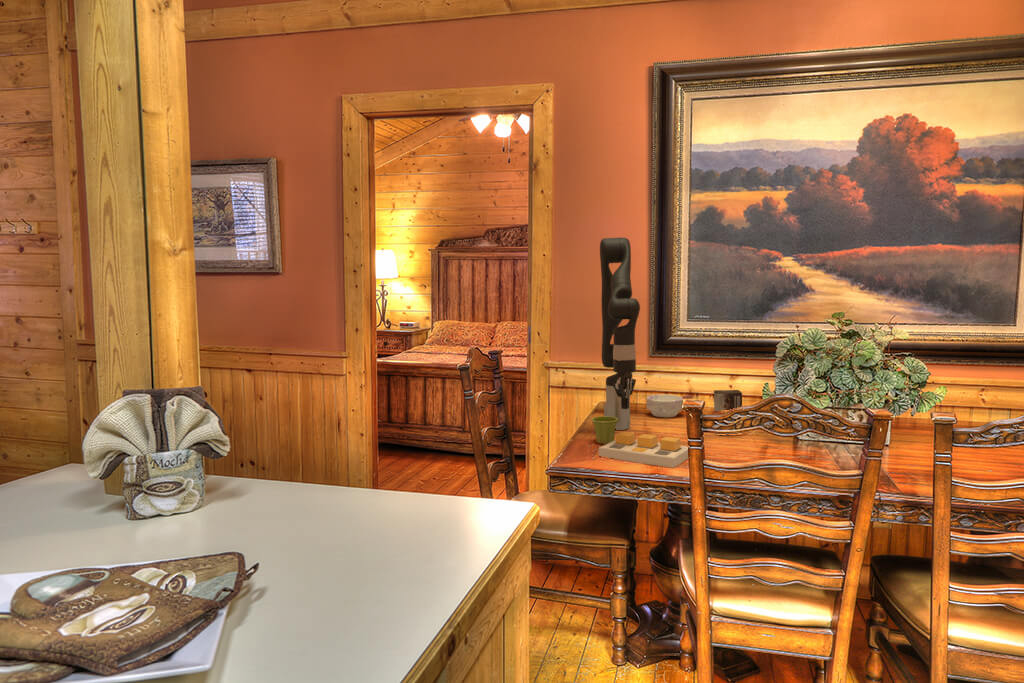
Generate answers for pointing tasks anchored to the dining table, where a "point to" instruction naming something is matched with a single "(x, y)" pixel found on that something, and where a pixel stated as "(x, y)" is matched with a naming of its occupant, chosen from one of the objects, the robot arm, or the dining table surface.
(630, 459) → the button board
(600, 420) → the plant pot
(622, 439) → the button left
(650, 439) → the button middle
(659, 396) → the light grey bowl
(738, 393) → the coffee box
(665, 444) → the button right
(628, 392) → the robot arm
